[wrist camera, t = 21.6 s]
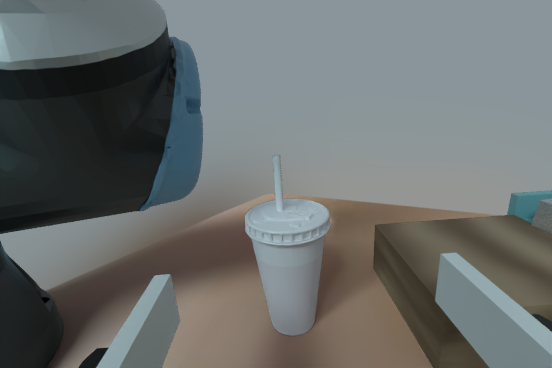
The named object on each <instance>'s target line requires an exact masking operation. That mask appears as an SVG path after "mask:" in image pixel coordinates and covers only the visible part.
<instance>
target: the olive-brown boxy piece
mask: <svg viewBox="0 0 552 368" xmlns="http://www.w3.org/2000/svg"><path fill="white" fill-rule="evenodd" d="M531 224H532V223H530V222H528V221H526V220H524V219H522V218H520V217H518V216H516V215H504V216H491V217H477V218H463V219H449V220H435V221H421V222H407V223H393V224H379V225H375V241H374V266H373V268H374V270H375V271H376V273H377V275H378V276H379V278H380V280H381V281H382V283H383V285H384V286H385V288H386V290H387V291H388V293H389V295H390V296H391V298H392V300H393V301H394V303H395V305H396V306H397V308H398V310H399V311H400V313H401V314H402V316H403V318H404V319H405V321H406V323H407V324H408V326H409V328H410V329H411V331H412V333H413V334H414V336H415V338H416V339H417V341H418V343H419V344H420V346H421V348H422V349H423V351H424V353H425V354H426V356H427V358H428V359H429V361H430V363H431V364H432V366H433V368H489V366H488V365H487V364H486V363H485V362H484V360H483V359H482V358H481V357H480V355H479V354H478V353H477V352H476V351H475V349H474V348H473V347H472V346H471V344H470V343H469V342H468V341H467V339H466V338H465V337H464V336H463V335H462V333H461V332H460V331H459V330H458V328H457V327H456V326H455V325H454V324H453V322H452V321H451V320H450V319H449V317H448V316H447V315H446V314H445V312H444V311H443V310H442V309H441V308H440V306H439V305H438V304H437V303H436V301H435V297H436V288H437V280H438V272H439V263H440V255H441V254H444V253H457V254H459V255H460V256H461V257H462V258H463V259H465V260H466V261H467V262H468V263H469V264H471V265H472V266H473V267H474V268H475V269H477V270H478V271H479V272H480V273H481V274H483V275H484V276H485V277H486V278H487V279H489V280H490V281H491V282H492V283H493V284H495V285H496V286H497V287H498V288H499V289H501V290H502V291H503V292H504V293H505V294H507V295H508V296H509V297H510V298H511V299H513V300H514V301H515V302H516V303H517V304H519V305H520V306H521V307H522V308H523V309H525V310H526V311H527V312H528V313H529V314H539V315H541V316H543V317H545V318H547V319H548V320H550V321H552V234H551V233H549V232H546V231H543V230H541V229H538V228H535V227H533V226H531Z"/></svg>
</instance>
